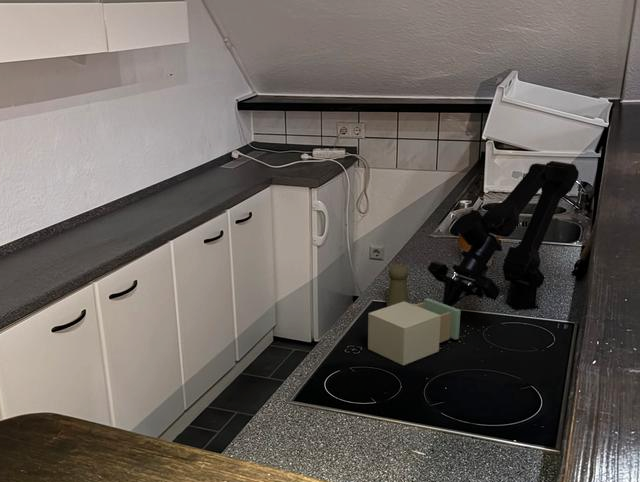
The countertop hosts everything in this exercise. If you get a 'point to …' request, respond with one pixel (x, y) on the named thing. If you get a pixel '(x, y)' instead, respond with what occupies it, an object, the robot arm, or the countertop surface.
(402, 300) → the olive brown pawn
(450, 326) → the drawer
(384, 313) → the beige cube
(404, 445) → the countertop surface
